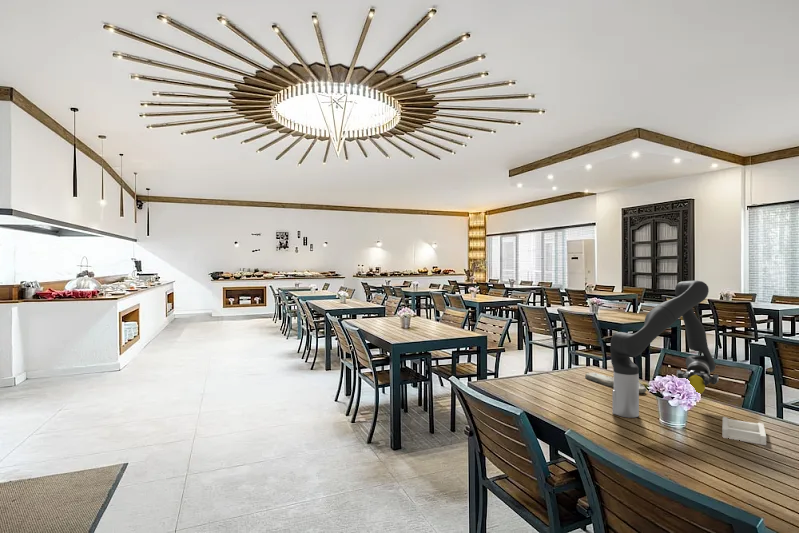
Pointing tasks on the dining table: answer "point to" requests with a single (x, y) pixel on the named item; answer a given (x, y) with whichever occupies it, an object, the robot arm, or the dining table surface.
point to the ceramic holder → (744, 431)
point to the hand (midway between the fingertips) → (695, 381)
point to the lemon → (697, 383)
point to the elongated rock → (608, 380)
